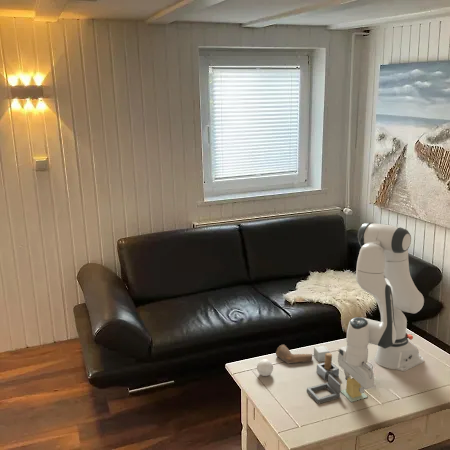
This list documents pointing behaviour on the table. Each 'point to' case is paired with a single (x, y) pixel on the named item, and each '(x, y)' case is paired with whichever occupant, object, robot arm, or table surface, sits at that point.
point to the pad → (354, 397)
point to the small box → (320, 353)
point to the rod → (328, 361)
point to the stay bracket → (327, 371)
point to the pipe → (292, 355)
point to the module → (353, 388)
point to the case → (331, 386)
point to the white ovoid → (264, 367)
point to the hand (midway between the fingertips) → (354, 385)
